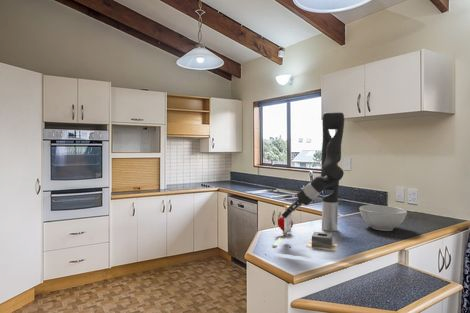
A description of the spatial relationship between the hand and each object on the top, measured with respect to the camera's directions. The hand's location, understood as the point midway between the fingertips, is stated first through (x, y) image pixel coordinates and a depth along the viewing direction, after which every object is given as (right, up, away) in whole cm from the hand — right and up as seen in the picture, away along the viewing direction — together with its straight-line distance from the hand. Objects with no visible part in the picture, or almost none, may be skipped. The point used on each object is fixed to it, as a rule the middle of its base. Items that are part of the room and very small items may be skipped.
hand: (284, 215), depth 160 cm
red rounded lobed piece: (+3, -14, +16) cm, 22 cm away
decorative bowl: (+67, -15, +35) cm, 77 cm away
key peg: (+2, -8, -1) cm, 8 cm away
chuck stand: (+18, -15, -5) cm, 24 cm away
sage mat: (+2, -15, 0) cm, 15 cm away
